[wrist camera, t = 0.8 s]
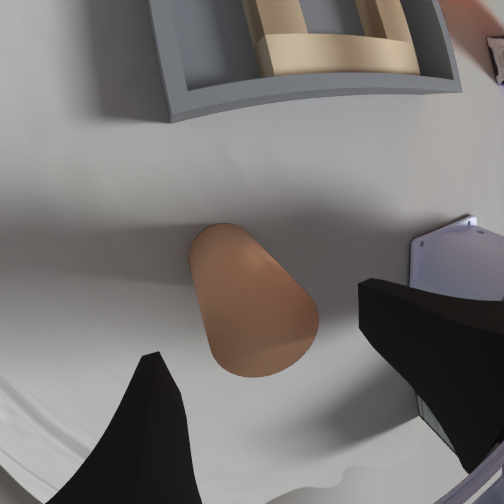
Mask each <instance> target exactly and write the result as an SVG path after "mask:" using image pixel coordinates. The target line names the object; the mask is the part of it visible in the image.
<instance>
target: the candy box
mask: <svg viewBox="0 0 504 504" xmlns="http://www.w3.org/2000/svg"><path fill="white" fill-rule="evenodd" d="M487 41H488V45H489V49H490V52H491V56H492V60H493V64H494V69H495V74H496V79H497V83H498V85H501V86H504V35H502V36H492V37H487Z"/></svg>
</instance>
